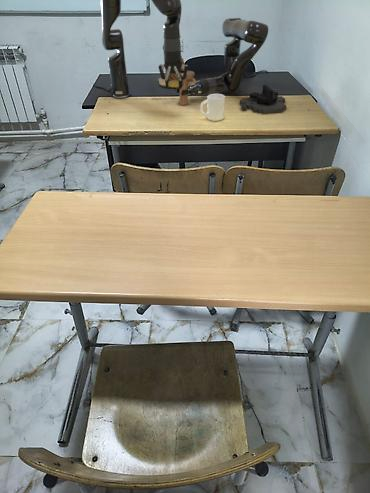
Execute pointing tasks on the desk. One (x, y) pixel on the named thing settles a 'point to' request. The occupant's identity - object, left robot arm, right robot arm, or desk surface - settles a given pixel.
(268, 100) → the abstract sculpture
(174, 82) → the lid
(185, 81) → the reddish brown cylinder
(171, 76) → the sculpture
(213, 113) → the mug
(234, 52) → the right robot arm
